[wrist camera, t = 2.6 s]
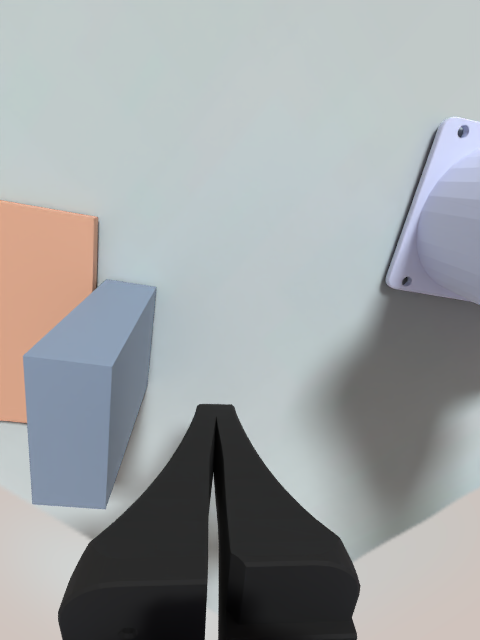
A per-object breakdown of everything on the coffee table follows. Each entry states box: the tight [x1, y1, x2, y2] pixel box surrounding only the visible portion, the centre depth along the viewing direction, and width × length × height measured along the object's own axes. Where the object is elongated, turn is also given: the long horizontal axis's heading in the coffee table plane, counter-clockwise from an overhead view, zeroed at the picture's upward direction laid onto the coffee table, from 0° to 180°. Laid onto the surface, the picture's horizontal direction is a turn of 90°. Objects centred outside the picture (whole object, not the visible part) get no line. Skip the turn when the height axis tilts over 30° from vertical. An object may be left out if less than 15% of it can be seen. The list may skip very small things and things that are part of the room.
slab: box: [23, 279, 156, 509], centre depth 15 cm, size 2×6×8 cm, turn 170°
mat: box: [0, 200, 98, 423], centre depth 17 cm, size 8×12×1 cm, turn 170°
